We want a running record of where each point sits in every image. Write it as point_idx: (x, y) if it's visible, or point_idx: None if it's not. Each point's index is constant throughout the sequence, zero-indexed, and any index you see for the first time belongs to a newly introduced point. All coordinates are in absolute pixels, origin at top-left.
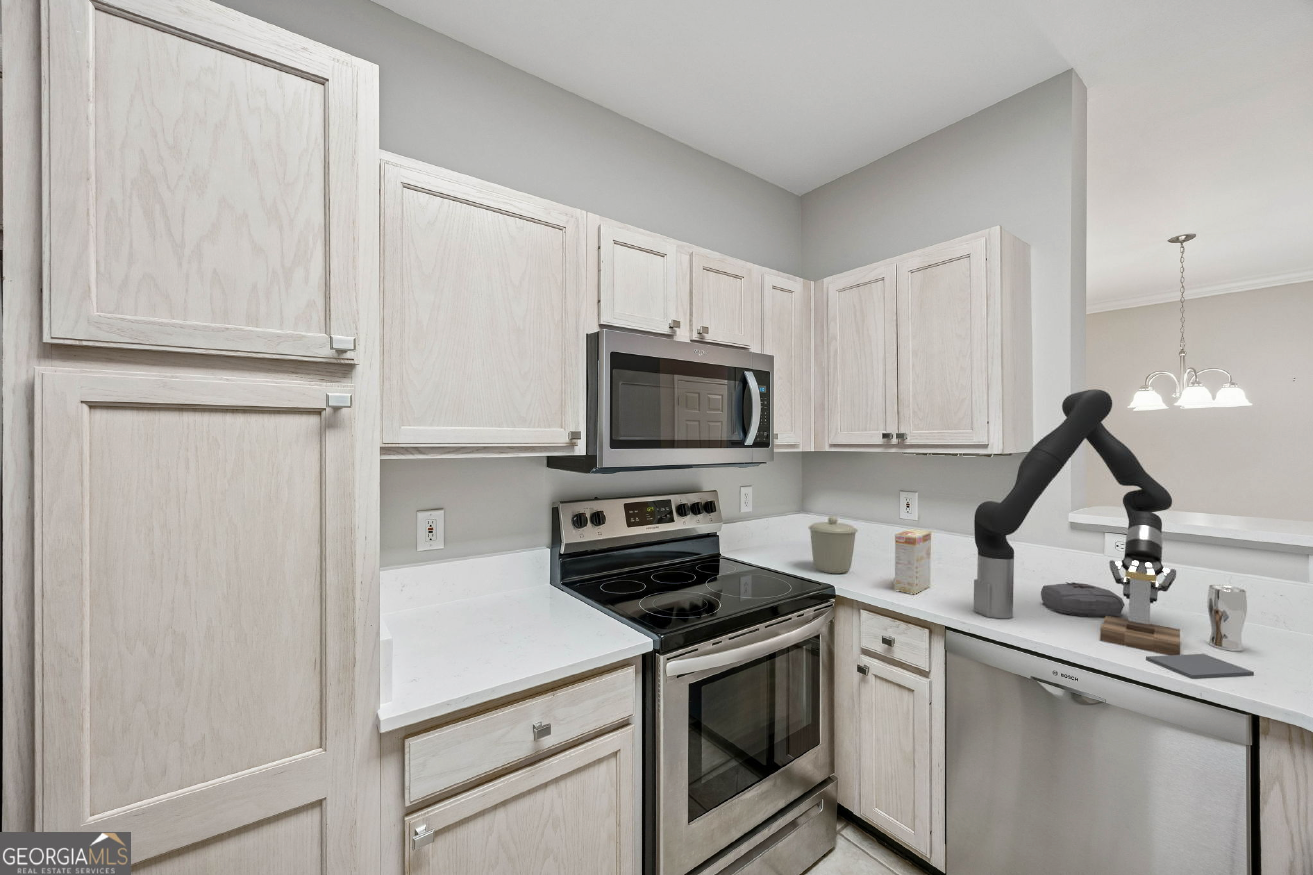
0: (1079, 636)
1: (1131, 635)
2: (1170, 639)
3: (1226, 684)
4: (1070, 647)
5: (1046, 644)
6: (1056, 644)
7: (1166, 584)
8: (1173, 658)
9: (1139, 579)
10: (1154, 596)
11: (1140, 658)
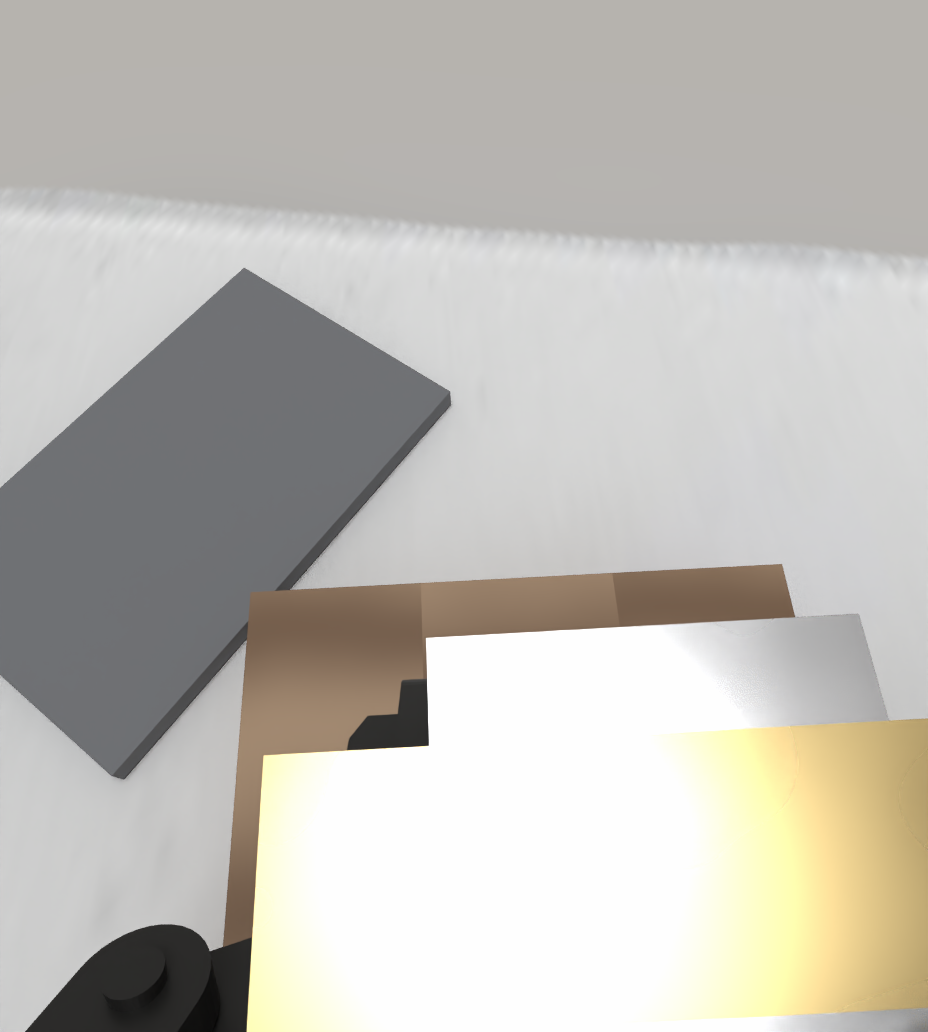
0: (877, 582)
1: (565, 576)
2: (307, 705)
3: (110, 320)
4: (811, 309)
5: (916, 263)
6: (883, 302)
7: (92, 987)
8: (312, 478)
9: (678, 719)
10: (387, 739)
11: (478, 408)
